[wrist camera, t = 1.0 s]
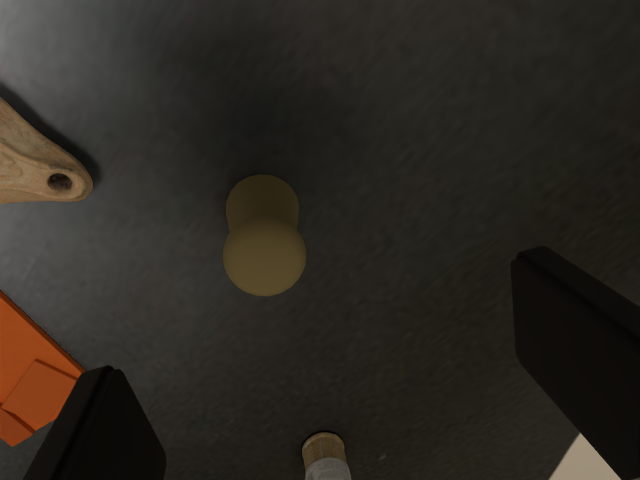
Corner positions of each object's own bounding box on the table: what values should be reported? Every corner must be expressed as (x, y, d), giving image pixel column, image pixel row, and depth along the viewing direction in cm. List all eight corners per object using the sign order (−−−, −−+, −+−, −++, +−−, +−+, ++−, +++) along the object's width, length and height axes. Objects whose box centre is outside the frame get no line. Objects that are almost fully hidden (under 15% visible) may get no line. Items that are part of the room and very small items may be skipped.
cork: (219, 236, 37) (205, 302, 27) (233, 166, 35) (224, 209, 25) (289, 250, 38) (301, 318, 28) (307, 183, 36) (327, 231, 26)
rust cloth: (-105, 343, 36) (-115, 351, 35) (-8, 282, 36) (-15, 289, 35) (16, 438, 41) (10, 448, 40) (103, 387, 41) (99, 395, 40)
